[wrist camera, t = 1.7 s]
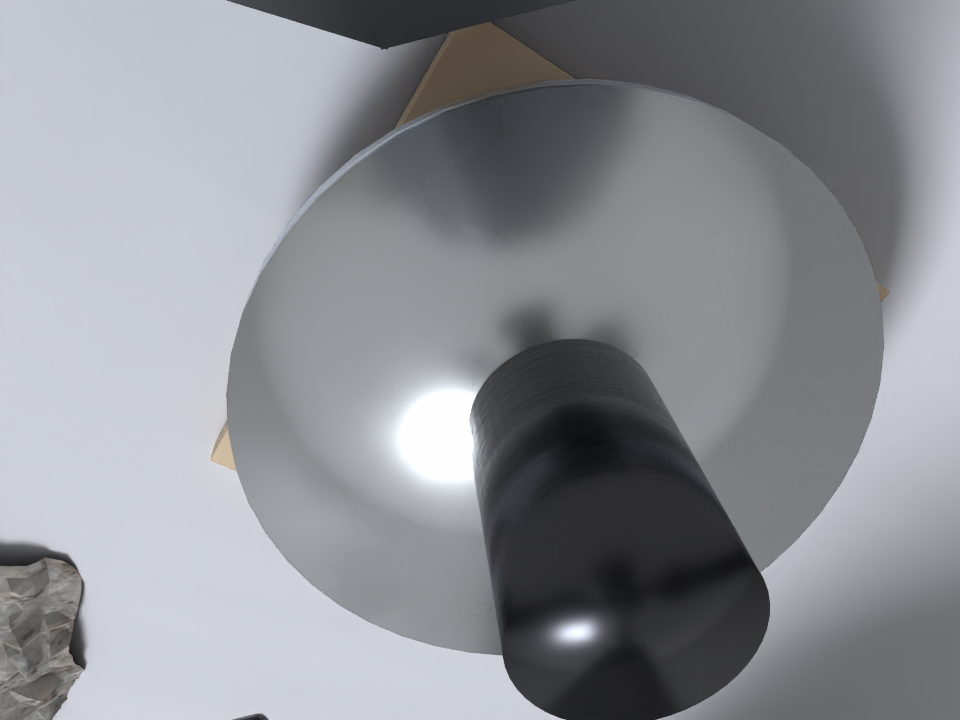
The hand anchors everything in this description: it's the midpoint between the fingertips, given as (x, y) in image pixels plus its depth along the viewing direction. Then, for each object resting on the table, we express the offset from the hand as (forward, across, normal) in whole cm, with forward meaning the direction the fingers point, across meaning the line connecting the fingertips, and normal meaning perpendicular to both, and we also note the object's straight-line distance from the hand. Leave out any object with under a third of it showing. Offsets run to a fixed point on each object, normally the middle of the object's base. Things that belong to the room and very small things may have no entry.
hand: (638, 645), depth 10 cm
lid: (+6, 0, 0) cm, 6 cm away
